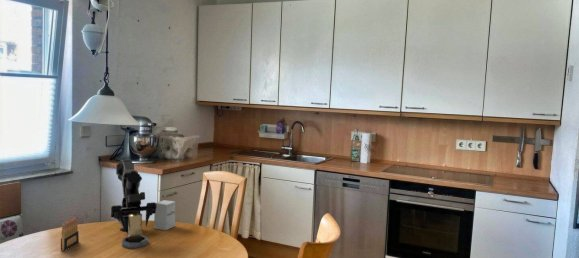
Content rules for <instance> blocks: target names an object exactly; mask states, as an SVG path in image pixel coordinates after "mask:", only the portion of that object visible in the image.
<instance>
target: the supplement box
mask: <svg viewBox="0 0 579 258" xmlns="http://www.w3.org/2000/svg"><path fill="white" fill-rule="evenodd" d="M155 203H156V206H157V208H156V212H155V213H154V214H153V215H154V216H153V217H154V218H153V219H154V220H153V221H154V222H153V224H154V225H153V228H154V229H157V230H162V231H167V230H169V229H171V228H174V227H176V201H173V200H165V199H163V200H160V201H157V202H155Z"/></svg>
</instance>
